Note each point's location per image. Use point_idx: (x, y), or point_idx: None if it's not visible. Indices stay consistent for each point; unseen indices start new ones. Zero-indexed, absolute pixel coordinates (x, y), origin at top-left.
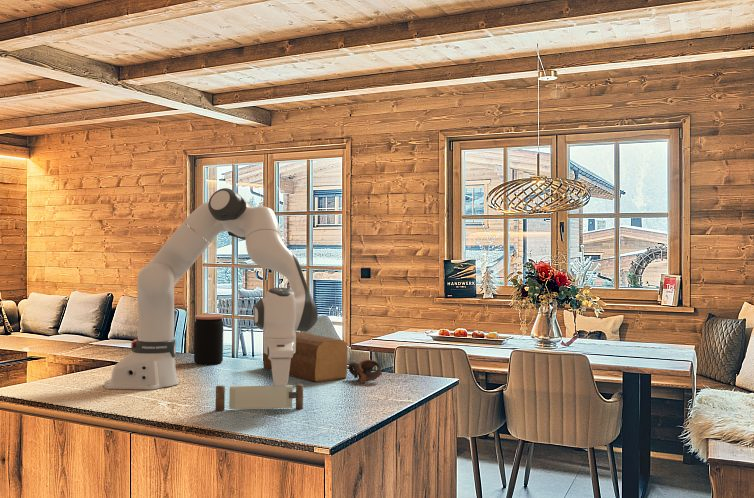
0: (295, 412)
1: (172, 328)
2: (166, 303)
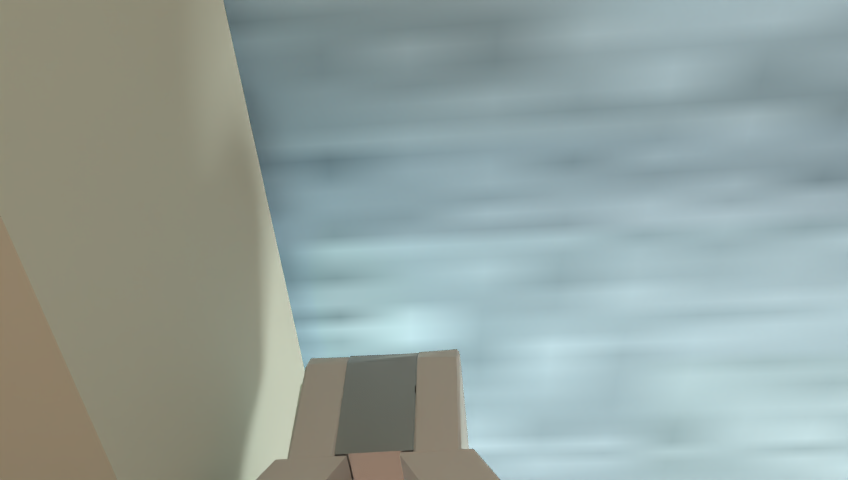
0: None
1: None
2: None
